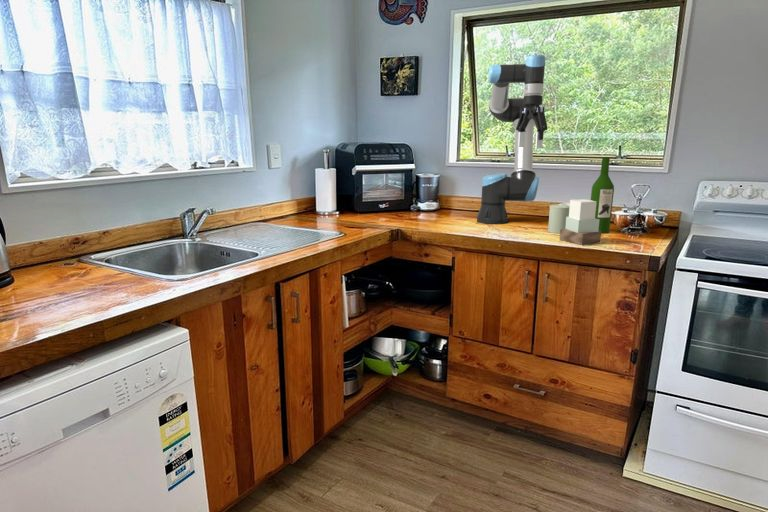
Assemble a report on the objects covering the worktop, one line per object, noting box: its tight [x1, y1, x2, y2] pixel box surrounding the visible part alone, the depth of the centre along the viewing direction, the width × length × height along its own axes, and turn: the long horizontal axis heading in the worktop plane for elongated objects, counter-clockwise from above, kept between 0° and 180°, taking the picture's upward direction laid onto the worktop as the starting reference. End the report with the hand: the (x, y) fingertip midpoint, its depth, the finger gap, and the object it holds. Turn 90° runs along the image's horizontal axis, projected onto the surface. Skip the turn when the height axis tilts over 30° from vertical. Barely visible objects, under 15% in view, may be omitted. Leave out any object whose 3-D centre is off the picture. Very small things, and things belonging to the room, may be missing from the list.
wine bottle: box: [590, 156, 615, 235], centre depth 215 cm, size 9×9×32 cm
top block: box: [565, 217, 599, 233], centre depth 198 cm, size 9×9×5 cm
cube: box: [569, 198, 596, 220], centre depth 197 cm, size 7×7×7 cm
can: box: [547, 204, 570, 235], centre depth 218 cm, size 9×9×12 cm
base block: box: [559, 229, 602, 246], centre depth 200 cm, size 11×11×5 cm
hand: (529, 147), depth 209 cm, fingers open, 13 cm apart
